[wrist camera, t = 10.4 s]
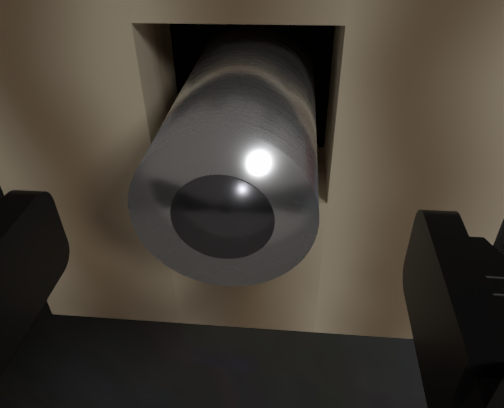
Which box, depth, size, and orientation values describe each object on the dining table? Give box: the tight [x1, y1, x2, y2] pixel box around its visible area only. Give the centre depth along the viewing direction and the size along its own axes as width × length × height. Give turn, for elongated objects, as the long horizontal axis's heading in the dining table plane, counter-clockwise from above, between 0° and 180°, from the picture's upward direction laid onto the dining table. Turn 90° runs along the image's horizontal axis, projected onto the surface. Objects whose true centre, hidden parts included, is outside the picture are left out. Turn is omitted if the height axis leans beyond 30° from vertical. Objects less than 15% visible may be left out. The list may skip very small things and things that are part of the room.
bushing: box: [128, 24, 319, 286], centre depth 14 cm, size 4×4×9 cm
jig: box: [0, 0, 504, 339], centre depth 18 cm, size 18×14×4 cm
